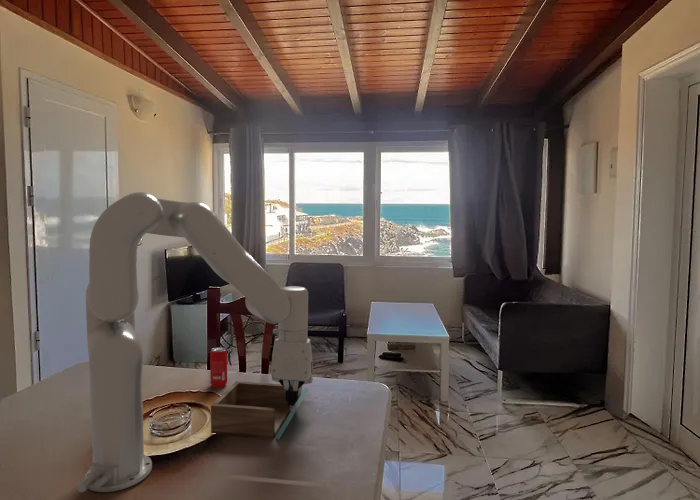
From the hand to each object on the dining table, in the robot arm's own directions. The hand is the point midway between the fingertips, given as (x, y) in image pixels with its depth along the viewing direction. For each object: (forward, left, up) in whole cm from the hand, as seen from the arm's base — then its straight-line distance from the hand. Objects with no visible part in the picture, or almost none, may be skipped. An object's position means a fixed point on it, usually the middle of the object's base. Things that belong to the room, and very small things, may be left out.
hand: (291, 403), depth 113 cm
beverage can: (+23, +30, -7) cm, 39 cm away
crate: (0, +10, -6) cm, 12 cm away
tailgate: (0, +1, -6) cm, 6 cm away
